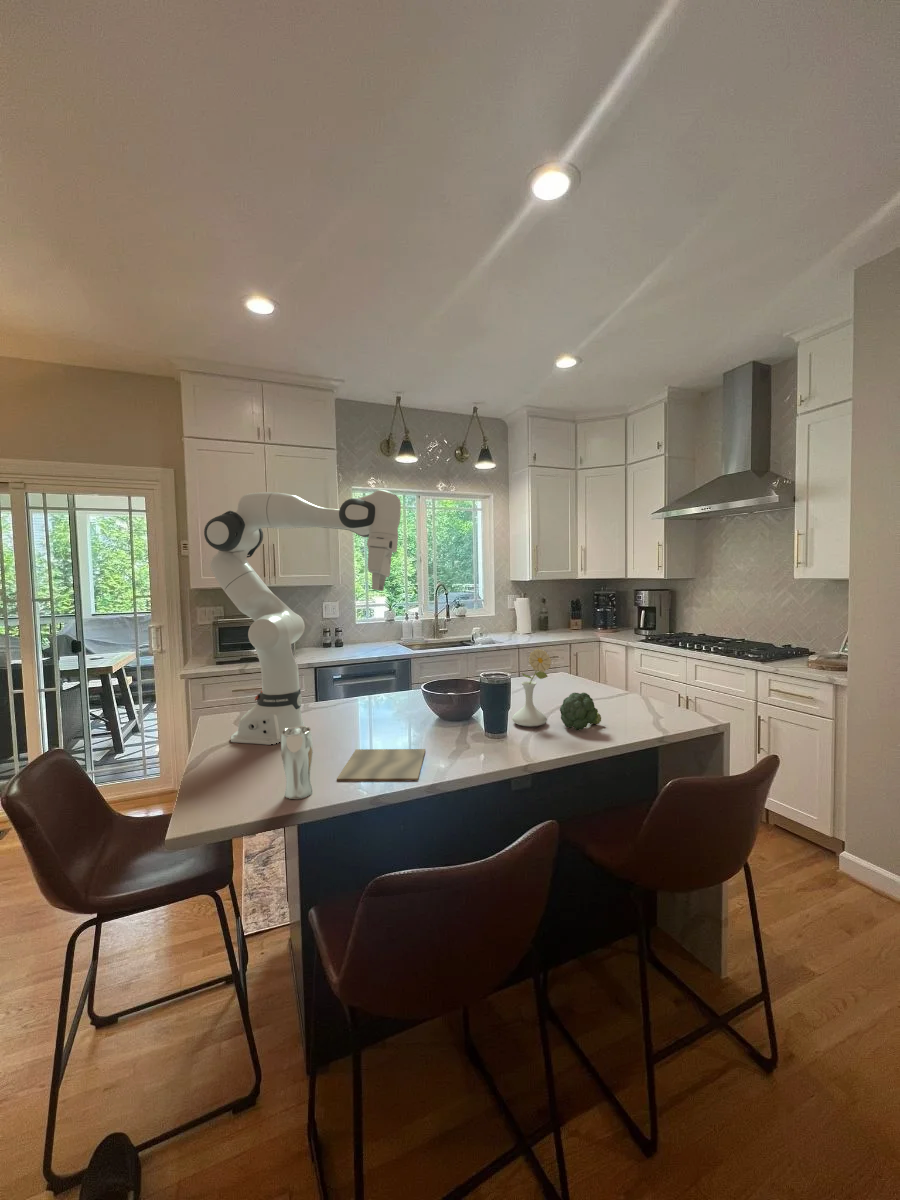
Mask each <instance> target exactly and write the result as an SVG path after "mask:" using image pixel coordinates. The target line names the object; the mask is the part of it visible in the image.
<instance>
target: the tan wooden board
mask: <svg viewBox="0 0 900 1200" xmlns="http://www.w3.org/2000/svg"><path fill="white" fill-rule="evenodd" d="M424 754H425V755H426V748H392V749H391V748H383V749H382V748H381V749H378V748H377V749H376V748H375V749H367V748H366V749H362V748H361V749H354V751H353V752H352V754H351V756H350V757H349V759H348V761H347V762H346V764H345V765H344V767H343V768H342V770H341V771H340V773H339V774H338V776H337V778H336V782H406V781H405V780H418V781H419V779H420V774H421V771H420V770H421V769H422V767H421V766H423V763H424V759H423V758H425V755H424ZM422 762H423V763H422Z"/></svg>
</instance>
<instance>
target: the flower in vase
mask: <svg viewBox="0 0 900 1200" xmlns="http://www.w3.org/2000/svg"><path fill="white" fill-rule="evenodd" d="M528 664H529V665H530V667H531V668H532V669H533V670H534V674H533V675H532V676H530V675H528V674H525V673H523V672H521V674H522V676H524V677H525V678H527V679H530V680H525V681H521V683H520V684H521V685H522V686H523V689H524V693H525V703H524V705H523V706H522V707H521V708H520V709H519V710H517V711H516V712H515V713H514V714H513V715H512V717H511V720H512V722H513V723H514V724H517V725H519V726H523V727H538V726H542V725H544V724H546V722H547V721H548V718H547V716H546V715H545V714H544V713H543V712H542V711H540V710H539V709H538V708H537V707H536V706H535V704H534V702H533V695H534V688H535V686H536V685H537V683H538V682H536V681H533V679H534V678H535V676H536V677H537V678H538V679H540V680H542V679H546V678H548V677H549V676H548V674H547V673H545V672H546V671H548V670H549V669H551V665H552V659H551V657H550V655H549V654H548V652H547V651H546V650H543V649H542V648H541V649H539V648H536V649H534V650H533V651H531V652H529V657H528Z"/></svg>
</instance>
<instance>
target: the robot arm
mask: <svg viewBox="0 0 900 1200" xmlns="http://www.w3.org/2000/svg"><path fill="white" fill-rule="evenodd" d="M401 505H402V504H401V500H400V498H399V496H398V495H397V494H396V493H393V492H391V491H388V490H386V489H385V490H384V489H376V490H375V491H374V492H372V493H370V494H368V495H365V496H360V497H355V498H348V499H346V500H345V501H344V502H343V503H342V504H341V505H340V507H339V508H338V509H336V508H328V507H322V506H318V505H315V504H313V503H312V502H308V501H307V500H305V499H303V498H301V497H300V496H297V495H294V494H289V493H285V492H277V491H276V492H275V491H261V492H251V493H246V494H244V495H242V496H241V497H240V499H239V501H238V503H237V510H236V511H233V510H228V511H225V512H224V513H221V514H220V515H217V516H214V517H213V518H211V519H210V520H209V521H208V522H207V523H206V524H205V526H204V530H203V535H204V539H205V541H206V543H207V544H208V545H209V546H210V547H212V548H213V549H215V550H217V553H215V555H214V556H213V557H212V558H211V560H210V562H209V568H210V570H211V572H212V575H213V576H214V578H215V580H216V581H217V583H218V584H219V586H220V587H221V589H222V590H223V591H224V593H225V594H226V595H227V597H228V598H229V599H230V601H231V602H232V603H233V604H234V606H235V607H236V609H238V611H239V612H240V613H242V614H243V615H245V616H247V617H248V618H250V619H251V620H253V622H252V623H251V625H250V626H249V628H248V632H247V637H248V641H249V643H250V644H251V645H252V646H253V648H254V649H255V651H256V655H257V657H258V661H259V665H260V672H261V673H260V674H261V688H262V689H261V691H260V693H258V694H257V695H256V696H254V701H257V704H255V706H253V707H252V708H250V709H249V710H248V711H246V713H245V714H243V716H242V717H241V718H240V720H239V723H238V726H237V727H238V728H237V730H236V731H234V733H232V734H231V736H230V740H231V741H230V742H231V743H238V744H239V743H242V744H254V745H255V744H256V745H269V746H270V745H271V744H273V745H277V744H280V743H281V732H282V731H283V730H285V729H287V728H291V727H297V726H305V724H304V719H303V715H302V708H301V707H302V693H301V692H302V691H301V688H300V679H299V664H298V663H297V662H296V660H295V657H294V654H293V649H292V644H294V643H296V642H297V641H299V639H300V638H301V637H302V636H303V634H304V633H305V629H306V628H305V627H306V626H305V621H304V619H303V617H301V615H299V614H298V613H296V612H294V611H293V610H292V609H291V608H290V607H289V606H288V605H287V604H286V603H285V602H283V600H282V599H280V598H279V597H278V596H277V595H276V594H274V592H272V591H271V589H270V588H269V587H268V586H267V585H266V584H267V583H265V582H264V581H263V580H262V578H261V577H260V576H259V575H258V573H257V572H256V570H255V569H254V568H253V567H252V566H251V564H250V563H249V561H248V558H251V557H252V556H253V555H254V553H255V552H256V550H258V548H259V547H260V546H261V545H262V542H263V539H264V532H263V530H262V529H277V530H280V529H281V530H283V529H284V530H285V529H286V530H287V529H289V530H290V529H304V528H309V529H310V528H322V529H335V530H345V531H350V532H352V533H354V534H356V535H358V536H360V537H361V538H362V537H363V538H367V543H366V547H367V549H368V551H367V552H368V554H367V570H368V572H369V573H371V582H372V583H371V589H372V590H377V591H381V592H383V591H384V588H385V587H384V586H385V583H386V580H387V578H389V577H390V575H391V574H390V573H391V567H392V566H391V564H392V557H393V553H397V551H398V542H399V532H398V531H399V525H400V523H401V512H402V511H401V510H402V509H401V508H402V506H401ZM279 742H280V743H279ZM276 743H277V744H276Z"/></svg>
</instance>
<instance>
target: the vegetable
mask: <svg viewBox="0 0 900 1200" xmlns="http://www.w3.org/2000/svg"><path fill="white" fill-rule="evenodd" d="M559 711H560V714H561V715H560V719H561V721H562V723H563V724H564V727H565V728H568V727H569V728H568V729H571V728H573V729H574V730H575V731H577V730H579V731H581V730H584V728H587V726H588V724H589V725H594V724H597V725H599V724H600V723H601V722H602V716H601V714H600V713H599V711H598V708H596V707H595V703H594V700H593V698H592V697H591V696H590V694H589V693H587V692H581V693H579V692H572V693H570V694H569V695H568V696H567V697H565V698H564V699H563V701H562V704H561V705H560V707H559Z"/></svg>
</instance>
